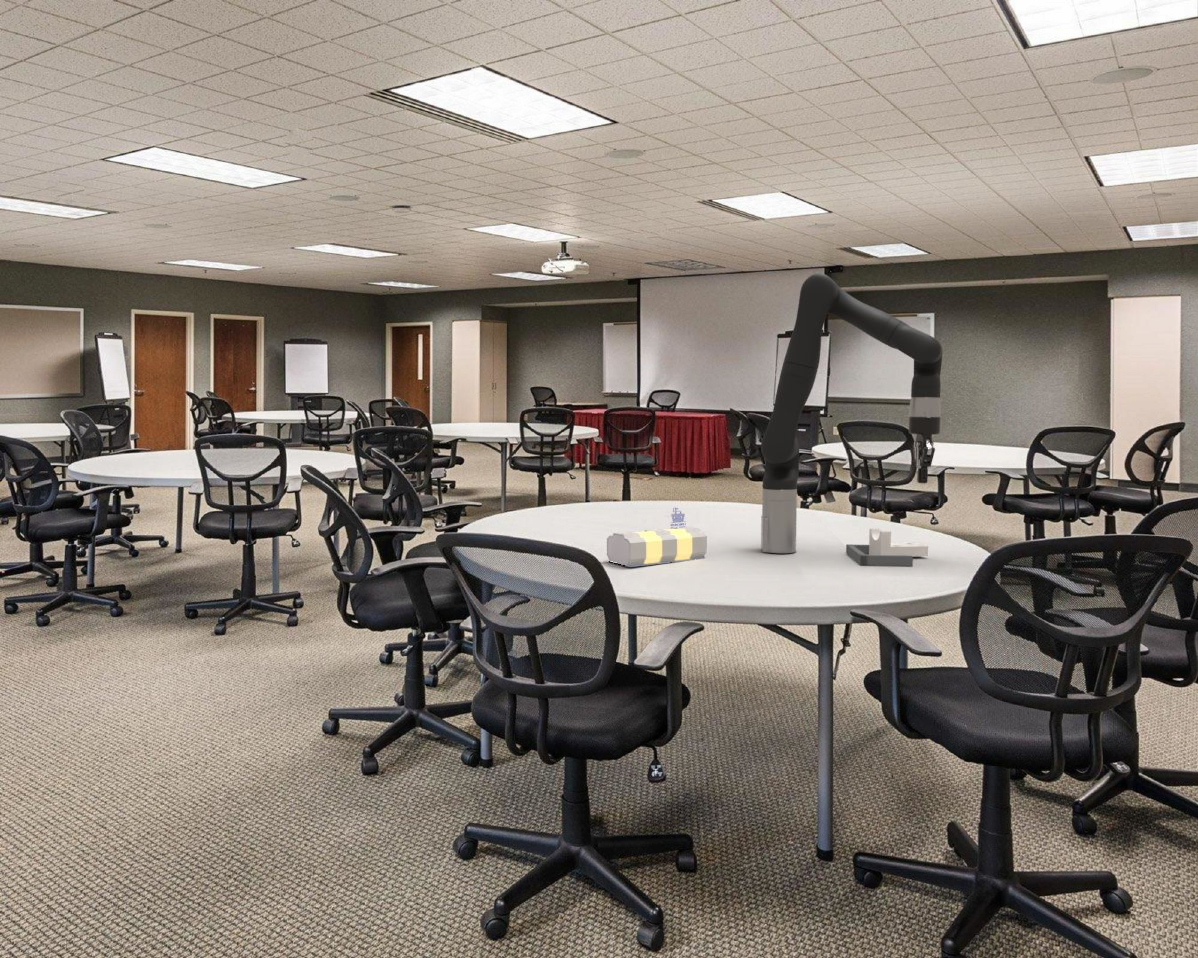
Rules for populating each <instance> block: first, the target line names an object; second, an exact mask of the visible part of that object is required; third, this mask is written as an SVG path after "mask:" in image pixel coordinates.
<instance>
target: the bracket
mask: <svg viewBox="0 0 1198 958" xmlns="http://www.w3.org/2000/svg"><path fill="white" fill-rule="evenodd" d="M868 539H869V540H868V545H869V555H909V556H913V558H921V557H928V556H929V546H928V545H925V544H921V543H918V542H917V543H916V542H892V531H890V530H888V531H887V530H885V531H883V530H882V531H881V529H880V528H869V535H868ZM891 542H892V543H891Z"/></svg>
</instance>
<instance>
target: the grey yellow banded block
mask: <svg viewBox="0 0 1198 958" xmlns="http://www.w3.org/2000/svg"><path fill="white" fill-rule="evenodd" d="M672 512H673V513H671V514H670V515H671V519H672V522H671V523H670V529H659V528H658V529H647V530H644V531H637V532H635V531H634V532H632V531H623V532H613V534H612V535H609V536H608V537H607V538H606V556H607V558H608V561H609V560H610V561H613V562H617V563H618V564H621V565H620V566H623V565H625V566H624V567H628V568H633V567H642V566H643V567H644V566H651V565H660V564H668V563H669V564H670V562H672V563H679V562H680V563H681V562H690V561H694V560H695V559H696V560H701V559H702V560H703V559H706V557H705V555H706V554H707V552H708V551H707V549H708V536H707V534H706V533H705V532H704V531H702V530H701V529H700V527H694V526H686V522H687V521H685V520H684V519H685V513H682V510H678V507H673V508H672ZM677 512H679V513H677ZM674 526H675V527H674ZM618 564H617V565H618Z"/></svg>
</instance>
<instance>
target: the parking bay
mask: <svg viewBox="0 0 1198 958" xmlns="http://www.w3.org/2000/svg"><path fill="white" fill-rule="evenodd" d="M845 547H846V549H845V553H847V554H846V555H847V556H849V558H851V559H852V560H854V561H855V562H856V563H857V564H858V565H860V566H861V567H862V566H863V567H913V566H914V563H913V561H914V557H913V556H909V555H869V544H846V546H845Z"/></svg>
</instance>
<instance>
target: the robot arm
mask: <svg viewBox="0 0 1198 958" xmlns="http://www.w3.org/2000/svg"><path fill="white" fill-rule="evenodd" d="M799 292H800V293H799V300H798V305H797V311H796V319H795V321H794V322H795V323H794V328H793V331H792V333H791V337H790V338H789V342H788V346H787V348H786V353H785V357H784V359H783V362H782V367H781V370H780V374H779V380H778V384H777V387H776V388H777V389H776V393H775V398H774V399H775V400H774V405H773V408H772V413H771V416H770V418H769V422H768V425H767V427H766V428H765V429H766V430H765V433H764V435H763V438H762V440H761V444H760V450H761V454H762V456H763V458H764V459H765V460H764V473H763V474H764V475H763V477H762V493H761V494H762V496H761V497H762V500H761V501H762V503H761V505H762V506H761V507H762V509H761V510H762V511H761V514H762V515H761V520H760V521H761V522H760V523H761V524H760V530H761V531H760V532H761V533H760V550H761V552H762V553H772V554H792V553H796V552H797V519H798V518H797V506H798V505H797V504H798V500H797V499H798V498H797V497H798V496H797V495H798V479H799V473H800V472H799V471H800V470H799V469H800V468H799V467H800V444H799V440H798V438H797V430H798V425H799V422H800V417H801V415H802V411H803V409H804V407H805V405H806V404H807V401H808V400H809V399H808V398H810V397H809V396H810V395H811V392H812V390H813V388H814V384H815V380H816V378H817V374H818V369H819V365H820V359H821V349H822V347H821V346H822V335H823V334H822V333H823V328H824V325H825V322H826V321H825V320H826V318H827V315H830V316H832V317H835V318H837V319H840V320H842V321H844V322H846V323H848V324H850V325H852V326H853V327H855V328H857V329H858V330H860V331H861V332H863V333H865V334H866V335H868V336H870V337H871V338H874V339H875V340H877V341H879V342H880V343H882V344H884V345H886V346H887V347H890V348H892V349H895V350H898V351H900V352H901V353H902V354H905V355H906V356H907V357H909V358H911V359H913V377H912V379H911V389H910V392H911V393H910V401H909V402H910V403H909V409H908V411H909V413H908V414H909V415H908V418H909V419H908V434H910V435H915V436H916V438H915V440H914V442H913V446H912V453H913V460H914V466H916V469H917V472H916V473H917V474H916V475H917V477H916V479H917V480H916V482H917V483H918V484H927V483H928V477H929V473H928V471H929V469H930V467H932V463H933V460H934V455H935V451H936V448H935V447H934V441H933V435H940V433H941V415H942V412H941V407H942V406H941V404H942V403H941V371H942V362H943V347H942V345H941V343H940V341H939V340H938V339H937V338H935V337H934V336H932V335H929V334H928V333H925V332H923V331H921V330H919V329H917V328H914V327H912V326H911V325H909V324H908V323H906V322H904V321H903V320H900V319H899V318H897V317H895V316H893V315H892V314H889V313H887V312H885V311H883V310H881V309H879V308H876V307H873V306H871V305H869V304H867V303H864V302H862V301H860V300H858V299H856V298H855V297H853V296H852V295H851V294H849V293H847V292H846V291H845V290H844V289H842V288H841V287H840V286H838V284H837V283H836V282H835V281H834V279H833V278H831V277H830V276H828V275H827V274H824V273H820V272H819V273H814V274H811V275H810V276H808V277H807V278H806V279H805V280H804V281H803V283H802V285H801V288H800V291H799Z"/></svg>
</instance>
